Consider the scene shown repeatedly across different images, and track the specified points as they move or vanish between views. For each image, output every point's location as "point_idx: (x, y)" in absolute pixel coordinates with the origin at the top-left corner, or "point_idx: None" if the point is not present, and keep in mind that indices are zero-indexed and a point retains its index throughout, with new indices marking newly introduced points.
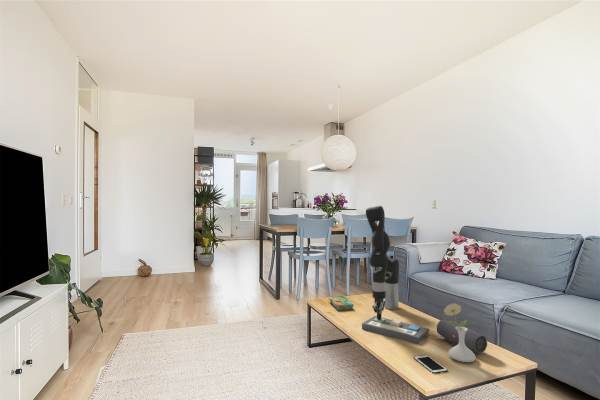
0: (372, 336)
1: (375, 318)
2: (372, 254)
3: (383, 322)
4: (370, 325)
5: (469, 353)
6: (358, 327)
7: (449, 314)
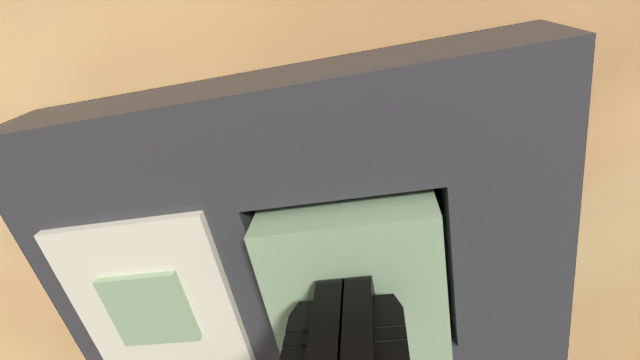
0: (19, 329)
1: (332, 233)
2: None
3: None
4: (51, 290)
5: None
6: (14, 28)
7: None
